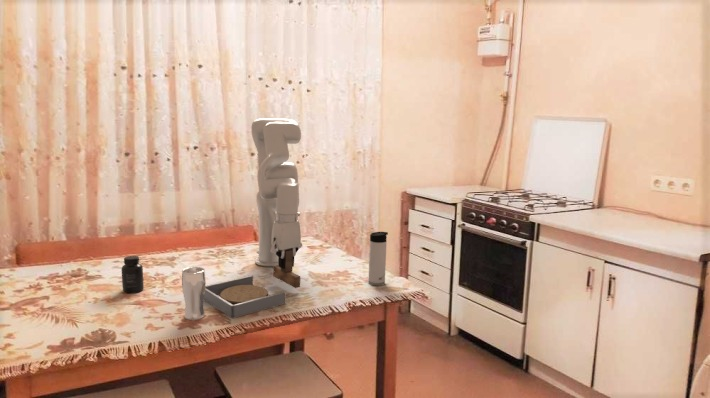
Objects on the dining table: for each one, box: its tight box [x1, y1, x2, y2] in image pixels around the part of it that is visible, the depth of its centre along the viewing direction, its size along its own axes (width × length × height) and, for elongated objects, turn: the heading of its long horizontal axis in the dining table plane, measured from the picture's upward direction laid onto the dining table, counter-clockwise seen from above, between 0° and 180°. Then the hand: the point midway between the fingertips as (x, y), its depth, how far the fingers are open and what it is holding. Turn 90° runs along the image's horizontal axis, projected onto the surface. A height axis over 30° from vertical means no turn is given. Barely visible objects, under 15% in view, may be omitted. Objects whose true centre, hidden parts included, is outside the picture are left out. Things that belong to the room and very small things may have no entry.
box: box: [203, 275, 286, 319], centre depth 174 cm, size 22×20×4 cm
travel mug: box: [367, 231, 389, 287], centre depth 194 cm, size 6×7×20 cm
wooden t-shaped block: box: [272, 249, 301, 289], centre depth 185 cm, size 14×3×12 cm, turn 42°
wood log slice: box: [219, 284, 269, 305], centre depth 174 cm, size 16×16×3 cm
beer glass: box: [181, 266, 206, 321], centre depth 159 cm, size 7×7×15 cm
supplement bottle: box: [121, 255, 145, 294], centre depth 180 cm, size 7×7×12 cm
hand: (286, 266), depth 185 cm, fingers closed on wooden t-shaped block, 3 cm apart
